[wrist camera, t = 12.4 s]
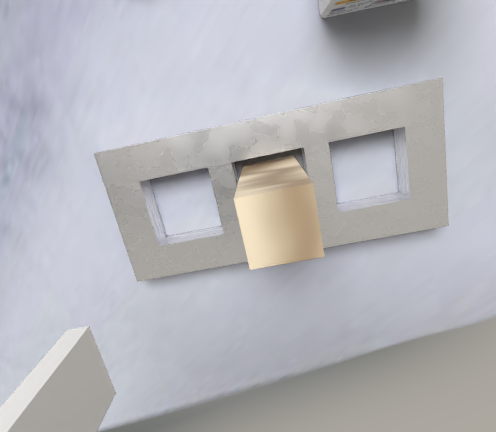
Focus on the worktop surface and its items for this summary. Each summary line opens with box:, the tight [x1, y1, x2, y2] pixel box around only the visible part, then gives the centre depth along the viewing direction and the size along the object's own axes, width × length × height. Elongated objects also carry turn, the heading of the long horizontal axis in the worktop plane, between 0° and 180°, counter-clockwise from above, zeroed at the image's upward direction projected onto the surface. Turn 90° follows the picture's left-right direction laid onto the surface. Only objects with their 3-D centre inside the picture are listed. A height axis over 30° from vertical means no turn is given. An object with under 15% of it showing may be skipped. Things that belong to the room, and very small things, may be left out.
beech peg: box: [234, 155, 325, 270], centre depth 26 cm, size 4×4×12 cm
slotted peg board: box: [94, 78, 449, 281], centre depth 30 cm, size 28×12×3 cm, turn 102°
